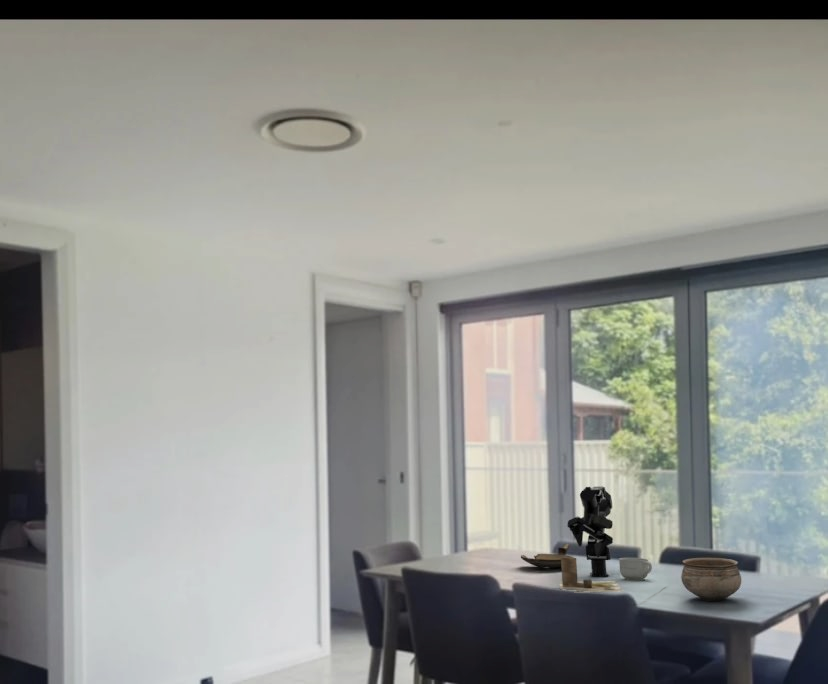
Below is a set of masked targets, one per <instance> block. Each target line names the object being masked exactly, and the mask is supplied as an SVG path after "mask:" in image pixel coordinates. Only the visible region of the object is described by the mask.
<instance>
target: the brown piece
mask: <svg viewBox="0 0 828 684" xmlns="http://www.w3.org/2000/svg"><path fill="white" fill-rule="evenodd" d="M560 568H561V582H562V584H563V586H575V587H584V588H591V587H604V588H611V585H608V584H592V582H593V581H592V579H583V580H582V581H578V567H577V558H576V557H574V558H565V557H562V558H561V567H560ZM581 582H583V583H581Z"/></svg>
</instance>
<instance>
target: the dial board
mask: <svg viewBox="0 0 828 684" xmlns="http://www.w3.org/2000/svg"><path fill="white" fill-rule="evenodd" d="M580 582H581V583H583V581H580ZM592 584H608V585H611V588H604V587H591V588H584V587H575V586H563V584H562V581H558V585H559V587H560V588H559V589H560V590H561V589H566V590H576V591H589V592H588V593H618V592H619V593H623V592H624V591H623V590H622V588H621V587H620V586H619V584H618V583H617V581H616V580H610V581H608V580H607V581H606V580H604V581H592Z"/></svg>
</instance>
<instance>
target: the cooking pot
mask: <svg viewBox="0 0 828 684" xmlns="http://www.w3.org/2000/svg"><path fill="white" fill-rule="evenodd" d="M681 562H682V563H683V564H684V565H683V567H682V571H681V574H680V575H681V577H680V579H681V582H682V585H683V586H684V588H685V589H686V590H687V591H688V592H689V593H692V594H693V595H695V596H697V597H698V598H699V599H701V600H703V601H706V602H720V601H721V602H722V601H724V600H726V599H727V598H728V597H730V596H732V595H734V594H735V593H736V592H737V591H739V589H740V587H741V585H742V575H741V573H740V570H739V568H738V566H737V564H738V563H739V562H738V561H737V560H734V559H728V558H721V557H695V558H694V557H693V558H687V559H683V560H682V561H681Z"/></svg>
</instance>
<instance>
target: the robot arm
mask: <svg viewBox="0 0 828 684" xmlns="http://www.w3.org/2000/svg"><path fill="white" fill-rule="evenodd" d="M579 496H580V501H581V504H582V506H583V516H582V517H580V516H578V515H576V516H575V517H573V518H571V519H569V520H568V521H567V527H568V529H569V531H571V533H572V534H573V537H574V538H575V541H576V543H577V545H578V547H582V545H583V539H584V533H586V534H587V535H588V536H587V543H586V544H585V554H586V560H587V561H589V560H590V563H591V572H590V576H591V577H609V574H608V572H607V562H606V561H610V560H611V551H610V547H609V546H610V545H612V544H613V543H614V542H613V541H614V539H613V537H612V536H611V535H609V534H607V533H606V531H605V530H608V529H609V530H610V529H612V528H613V521H612V520H611V519H609V518H607V517H608V516H609V515H610V514H611V510H612V509H613V500H612V496H611V494H610V493H609V492H607V491H606V487H605V486H601V485H600V486H593V487H591V486H585V488H583V490H581V492H580V493H579Z"/></svg>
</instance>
